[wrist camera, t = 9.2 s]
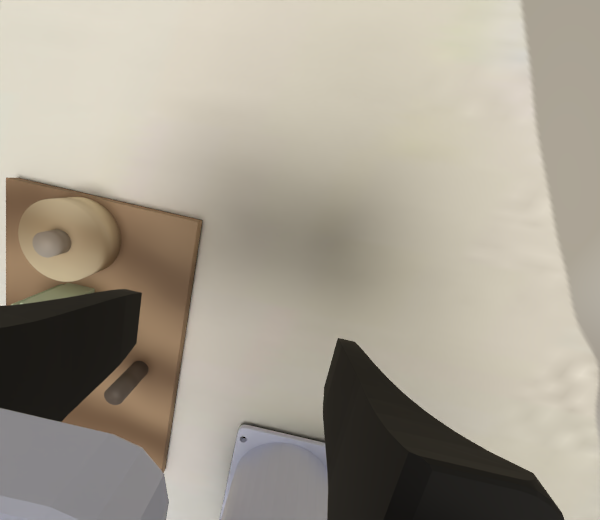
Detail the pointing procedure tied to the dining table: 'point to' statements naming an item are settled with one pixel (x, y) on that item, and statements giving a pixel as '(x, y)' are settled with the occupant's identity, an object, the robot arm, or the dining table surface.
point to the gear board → (110, 276)
